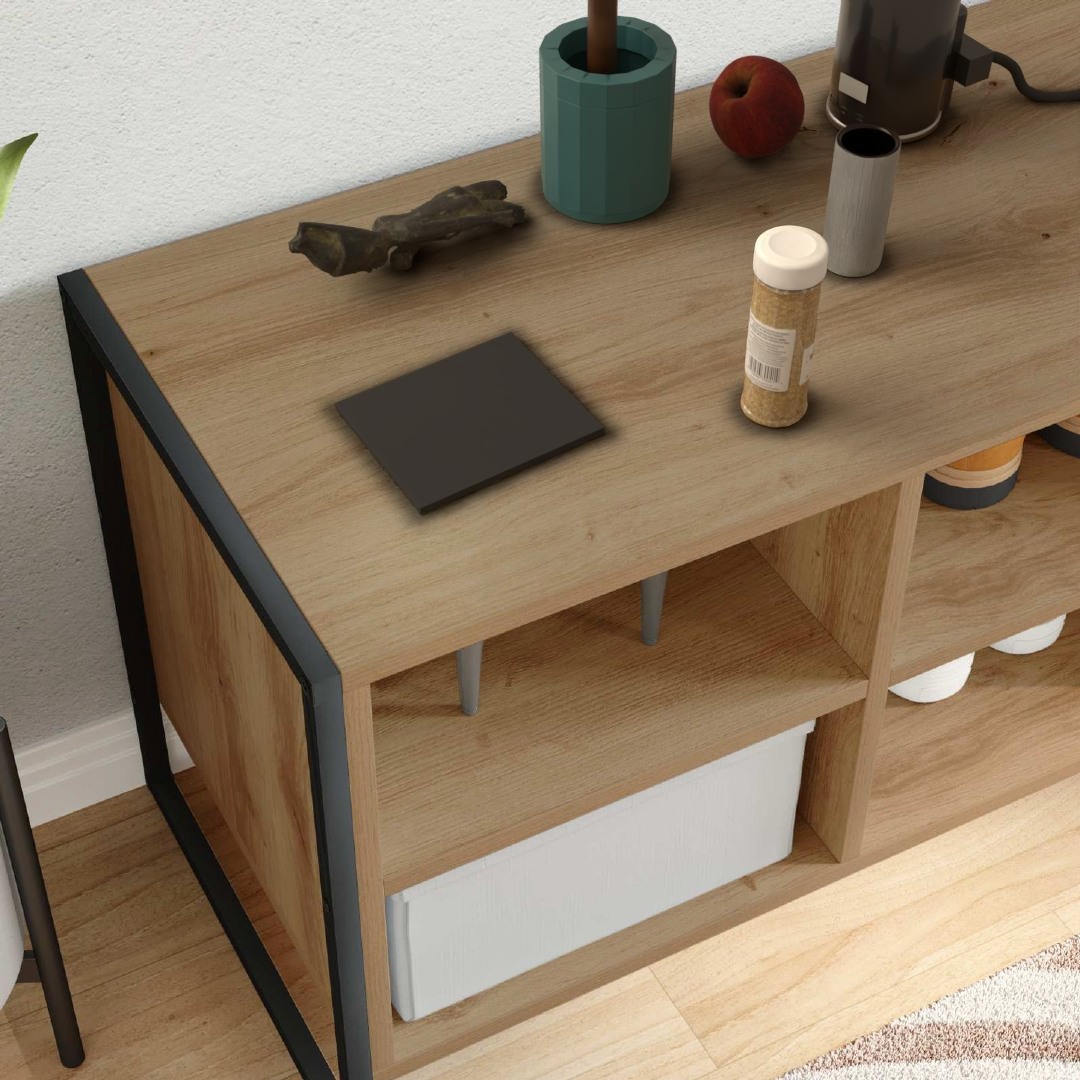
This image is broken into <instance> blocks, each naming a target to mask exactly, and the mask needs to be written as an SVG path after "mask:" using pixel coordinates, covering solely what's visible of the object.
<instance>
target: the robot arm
mask: <svg viewBox="0 0 1080 1080" xmlns="http://www.w3.org/2000/svg"><path fill="white" fill-rule="evenodd" d="M839 6H840V7H839V13H838V23H837V29H836V37H835V45H834V52H833V61H832V67H831V76H830V84H829V92H828V96H827V99H826V105H825V114H826V117H827V120H828V121H829V122H830V124H831V125H832V126H833V127H834V128H835V129H837V130H838V131H840V130H841V129H843V128H844V127H846V126H849V125H852V124H856V123H875V124H879V125H883V126H886V127H888V128H890V129H892V130H893V131H894V132H896V133H897V134H898V136H899V137H900V140H901V144H907V143H912V142H915V141H919V140H922V139H924V138H926V137H927V136H929V135H931V134H932V133H933V132H934V131H935V130H936V129H937V128H938V126H939V124H940V121H941V118H943V117H946V116H948V115H949V112H950V108H951V107H950V106H951V101H952V96H953V91H954V86H955V83H957V84H959V85H961V86H962V87H964V88H967V87H970V86H972V85H975V84H977V83H980V82H982V81H985V80H988V79H989V77H990V75H991V74H990V73H991V68H992V63H994V64H996V65H998V66H1001V67H1002V68H1004V69H1005V70H1006V71H1008V72H1009V74H1010V76H1011V78H1012V81H1013V84H1014V86H1015V88H1016V89H1017V91H1018V92H1019V93H1020V95H1022V96H1023V97H1025V98H1028V99H1030V100H1032V101H1036V102H1042V103H1062V102H1063V103H1064V102H1065V103H1066V102H1074V101H1079V100H1080V88H1076V89H1071V90H1065V91H1064V90H1063V91H1048V90H1047V91H1046V90H1041V89H1038V88H1035V87H1033V86H1031V85H1030V84H1029V83H1028V81H1027V80H1026V77H1025V75H1024V72H1023V70H1022V67H1021V66H1020V64H1019V63H1018V62H1017V61H1016V60H1015V59H1014V58H1012V57H1011V56H1008V55H1007V54H1005V53H1002V52H999V51H996V50H992V49H991V48H989V47H988V46H986V45H984V44H983V43H982V42H980V41H978V40H976V39H975V38H973V37H972V36H969V35H968V34H966V33H965V29H966V25H967V18H968V13H969V12H968V8H967V6H966V5H965V4H964V3H962V0H840V5H839Z"/></svg>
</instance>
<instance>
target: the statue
mask: <svg viewBox="0 0 1080 1080" xmlns="http://www.w3.org/2000/svg"><path fill="white" fill-rule="evenodd" d="M508 194H509V193H508V188H507V185H505V184H504V183H502V181H500V180H498V179H489V180H481V181H478V182H474V183H471V184H467V185H464V186H460V185H454V186H452V187H451V186H450V187H449V188H447V189H446V190H443V191H441V192H439V193H437V194H435V195H434V196H433V197H432V198H431V199H430V200H428V201H426V202H424V203H423V204H420V205H419V206H417V207H415V208H412V209H410V211H409V212H404V213H403V212H402V213H397V214H394V213H393V214H392V213H391V214H386V215H381V216H378V217H377V218H375V220H374V221H373V224H372V226H371V230H370V229H367V228H363V227H362V228H361V227H354V226H349V225H344V224H336V223H335V224H334V223H326V222H315V221H300V222H298V226H297V231H296V234H295V236H294V237H292V238H291V239H290V240H289V241H288V242H287V244H288V250H289V251H290V253H291V254H302V255H303V256H305V257H306V258H307V259H308V261H309V262H310V263H311V264H312V265H313V266H314V267H315V268H316V269H318V270H319V271H321V272H324V273H327V274H328V275H329V276H331V277H332V278H339V277H345V276H349V275H354V274H358V273H361V272H366V273H368V274H370V273H372V272H373V270H378V269H379V268H381V267H384V266H385V265H386V264H387V263H389V268H390V269H392V270H393V271H405V270H408V269H410V268H411V267H412V264H413V260H414V259H413V258H414V256H415V255H416V254H417V253H418V252H419V250H420V248H421V247H422V245H425V244H426V243H430V242H436V241H448V240H452V239H454V238H456V237H458V236H460V235H461V233H465V232H472V231H474V230H476V229H478V228H483V227H490V226H494V227H495V226H496V227H499V226H500V227H501V226H502V227H507V228H512V227H513V225H519V224H522V223H524V222H525V221H526V218H527V216H526V212H525V211H526V208H525V207H524V208H523V206H522V205H520V204H516V203H513V202H511V201H506V199H507V198H508ZM394 247H396V248H395V249H394V250H393V251H392V252H391V253H390V255H389V251H390V249H392V248H394Z"/></svg>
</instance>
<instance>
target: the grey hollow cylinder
mask: <svg viewBox="0 0 1080 1080" xmlns="http://www.w3.org/2000/svg"><path fill="white" fill-rule="evenodd" d="M901 148H902V143H901V140H900V137H899V136H898V134H897V133H896V132H894V131H893V130H892V129H890V128H888V127H886V126H883V125H879V124H875V123H856V124H852V125H849V126H846V127H844V128H843V129H841V130H838V132H837V134H836V137H835V141H834V147H833V149H834V151H833V155H832V164H831V169H830V170H831V171H830V178H829V186H828V193H827V194H828V195H827V201H826V208H825V215H824V222H823V228H822V229H823V230H822V231H823V232H822V235H821V236H822V237H823V238H824V239H825V241H826V242H827V245H828V248H829V254H828V264H827V270H828V271H830V272H831V273H833V274H836V275H839V276H841V277H842V276H843V277H849V278H860V277H864V276H865V277H866V276H869V275H871V274H873V273H874V272H876V271H877V270H878V269H879V267H880V265H881V263H882V260H883V253H884V247H885V242H886V235H887V230H888V224H889V219H890V213H891V207H892V202H893V195H894V189H895V183H896V177H897V172H898V167H899V166H898V165H899V160H900V154H901Z"/></svg>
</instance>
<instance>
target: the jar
mask: <svg viewBox="0 0 1080 1080" xmlns="http://www.w3.org/2000/svg"><path fill="white" fill-rule="evenodd" d="M677 53H678V48H677V46H676V43H675V42H674V39H673V37H672V35H671V34H670V33H668V32H667V31H665V30H664V29H663V28H661V27H660V26H659V25H657V24H656V23H654V22H653V23H652V22H650V21H646V20H644V19H640V18H639V17H636V16H634V17H633V16H627V15H626V16H625V15H618V19H617V64H616V74H613V75H604V74H595V73H587V16H584V17H580V18H576V19H573V20H570V21H567V22H564V23H561V24H559V25H557V26H556V27H554V28H553V29H552V30H550V31H549V32H548V33H546V34H545V35H544V37H543V39H542V41H541V44H540V45H539V47H538V65H539V67H538V69H539V72H538V73H539V76H538V78H539V123H540V125H539V126H540V128H539V129H540V173H541V176H540V177H541V181H542V192H543V196H544V197H545V200H546V201H547V202H548V204H549V205H550V206H551V207H552V208H553V209H555V210H556V212H557V211H558V212H559V213H560V214H562V215H564V216H567V217H568V218H571V219H574V220H576V221H581V222H585V223H592V224H606V225H607V224H620V223H626V222H631V221H635V220H638V219H641V218H644V217H646V216H648V215H650V214H652V213H653V212H655V211H656V210H658V209H659V208H660V207H661V206H662V205H663V204H664V202H665V201H666V199H667V198H668V195H669V190H670V180H671V178H672V177H671V174H672V158H673V156H672V155H673V139H674V138H673V137H674V136H673V135H674V118H675V115H674V114H675V98H676V97H675V95H676V78H677V77H676V75H677V74H676V73H677V57H678V56H677V55H678V54H677Z"/></svg>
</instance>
